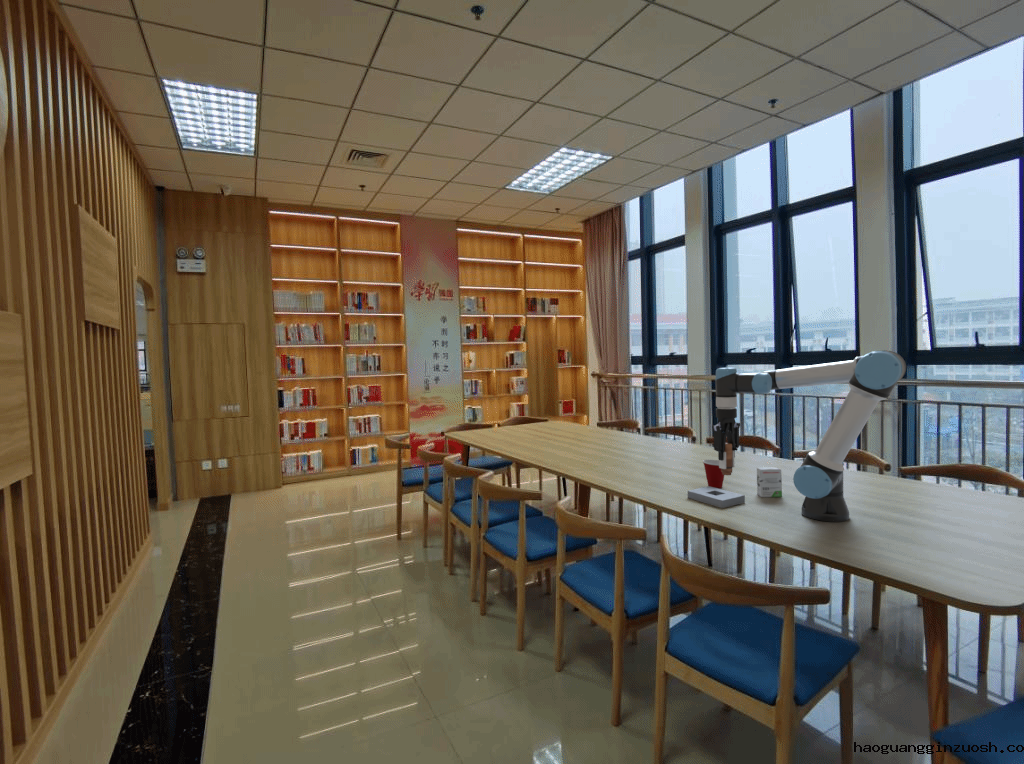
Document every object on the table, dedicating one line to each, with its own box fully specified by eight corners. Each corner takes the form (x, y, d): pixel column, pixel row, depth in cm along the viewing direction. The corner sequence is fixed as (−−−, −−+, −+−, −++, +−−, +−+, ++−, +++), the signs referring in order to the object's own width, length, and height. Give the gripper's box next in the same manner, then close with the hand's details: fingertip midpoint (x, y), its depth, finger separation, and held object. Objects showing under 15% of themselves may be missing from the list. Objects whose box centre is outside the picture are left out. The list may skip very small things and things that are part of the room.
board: (744, 502, 212) (744, 495, 212) (722, 508, 206) (722, 500, 206) (709, 492, 228) (709, 486, 228) (687, 497, 222) (687, 490, 222)
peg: (734, 474, 202) (734, 443, 201) (727, 476, 200) (727, 445, 199) (725, 472, 205) (725, 442, 205) (718, 474, 203) (718, 443, 203)
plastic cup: (732, 490, 231) (731, 463, 230) (707, 490, 232) (706, 463, 231) (724, 483, 242) (723, 458, 241) (700, 484, 243) (699, 458, 242)
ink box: (777, 494, 222) (777, 466, 222) (782, 497, 218) (782, 469, 217) (756, 494, 224) (756, 466, 223) (760, 497, 219) (760, 469, 218)
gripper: (732, 405, 209) (733, 462, 210) (703, 408, 200) (703, 468, 202) (749, 406, 202) (749, 466, 203) (719, 410, 194) (720, 472, 195)
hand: (726, 467), depth 202 cm, fingers closed on peg, 4 cm apart
